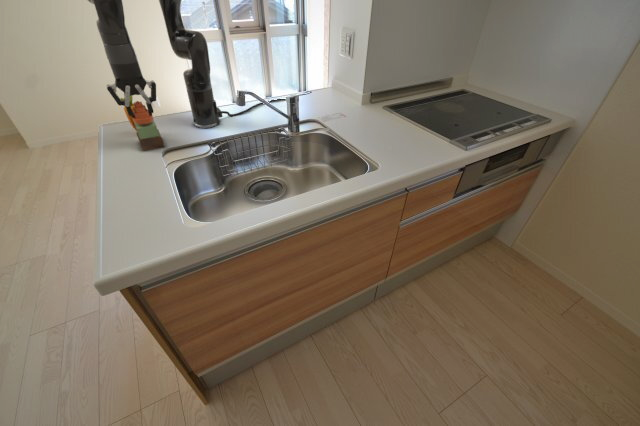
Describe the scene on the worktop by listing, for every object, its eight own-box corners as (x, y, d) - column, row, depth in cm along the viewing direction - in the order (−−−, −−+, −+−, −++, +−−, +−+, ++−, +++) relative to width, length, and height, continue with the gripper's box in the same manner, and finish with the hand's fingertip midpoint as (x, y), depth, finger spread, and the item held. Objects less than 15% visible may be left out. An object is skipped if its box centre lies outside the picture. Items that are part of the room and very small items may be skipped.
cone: (152, 115, 102) (146, 97, 98) (154, 122, 99) (148, 103, 94) (132, 118, 100) (125, 99, 96) (135, 125, 96) (127, 105, 92)
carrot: (143, 138, 108) (128, 97, 99) (131, 136, 109) (115, 95, 99) (151, 132, 112) (138, 92, 102) (139, 131, 113) (125, 91, 103)
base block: (161, 138, 109) (157, 128, 106) (164, 147, 105) (161, 136, 102) (140, 142, 106) (136, 132, 103) (142, 151, 102) (138, 140, 99)
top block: (156, 129, 106) (153, 118, 103) (159, 136, 102) (156, 125, 99) (138, 132, 103) (134, 121, 101) (140, 139, 99) (136, 128, 97)
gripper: (95, 64, 82) (118, 123, 93) (151, 61, 88) (167, 116, 99) (94, 58, 86) (116, 114, 97) (147, 55, 93) (163, 108, 104)
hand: (142, 115), depth 98 cm, fingers closed on cone, 4 cm apart
